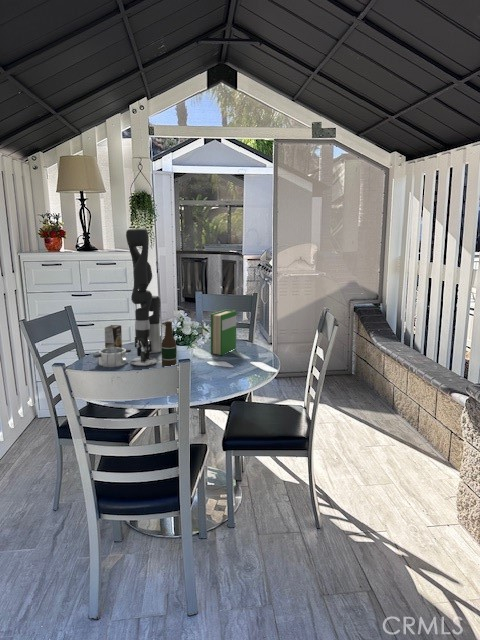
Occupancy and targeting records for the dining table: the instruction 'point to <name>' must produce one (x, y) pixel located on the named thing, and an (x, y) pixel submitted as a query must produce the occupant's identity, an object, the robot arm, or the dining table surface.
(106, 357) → the pot
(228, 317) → the hardback book
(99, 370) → the dining table surface
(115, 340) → the coffee box
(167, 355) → the beer bottle
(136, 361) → the lid
